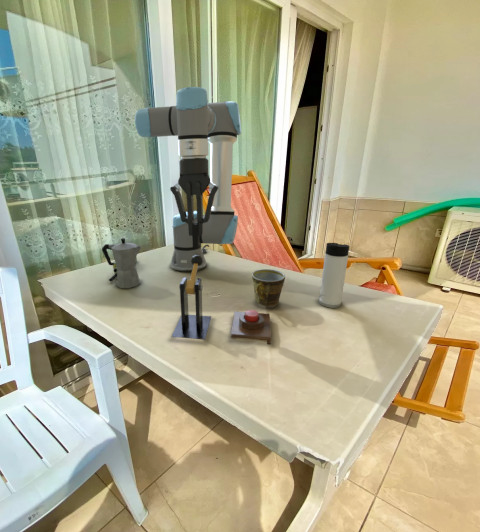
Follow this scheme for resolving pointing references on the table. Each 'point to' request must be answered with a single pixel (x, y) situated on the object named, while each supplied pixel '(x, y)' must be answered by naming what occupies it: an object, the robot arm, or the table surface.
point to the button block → (251, 327)
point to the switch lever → (193, 274)
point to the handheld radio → (115, 271)
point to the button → (251, 315)
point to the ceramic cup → (267, 286)
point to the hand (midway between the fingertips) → (196, 246)
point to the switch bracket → (188, 323)
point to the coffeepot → (124, 263)
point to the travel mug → (333, 274)
